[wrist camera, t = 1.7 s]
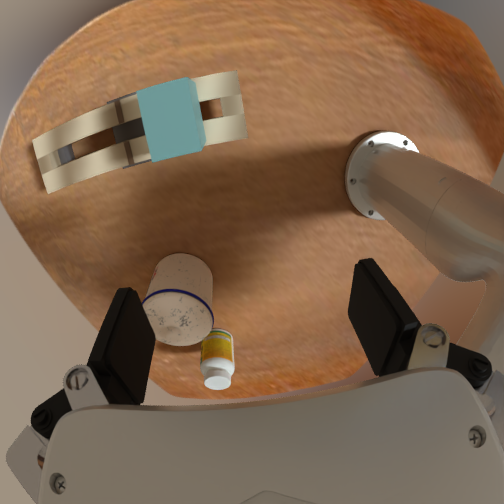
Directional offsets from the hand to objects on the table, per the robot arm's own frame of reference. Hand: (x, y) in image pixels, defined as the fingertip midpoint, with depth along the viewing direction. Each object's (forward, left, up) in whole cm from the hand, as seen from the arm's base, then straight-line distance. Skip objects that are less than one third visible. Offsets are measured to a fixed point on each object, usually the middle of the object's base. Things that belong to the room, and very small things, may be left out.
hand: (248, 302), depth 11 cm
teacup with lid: (+10, +16, -24) cm, 30 cm away
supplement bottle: (+8, +28, -24) cm, 37 cm away
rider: (+4, -7, -20) cm, 22 cm away
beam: (+10, -7, -24) cm, 27 cm away
